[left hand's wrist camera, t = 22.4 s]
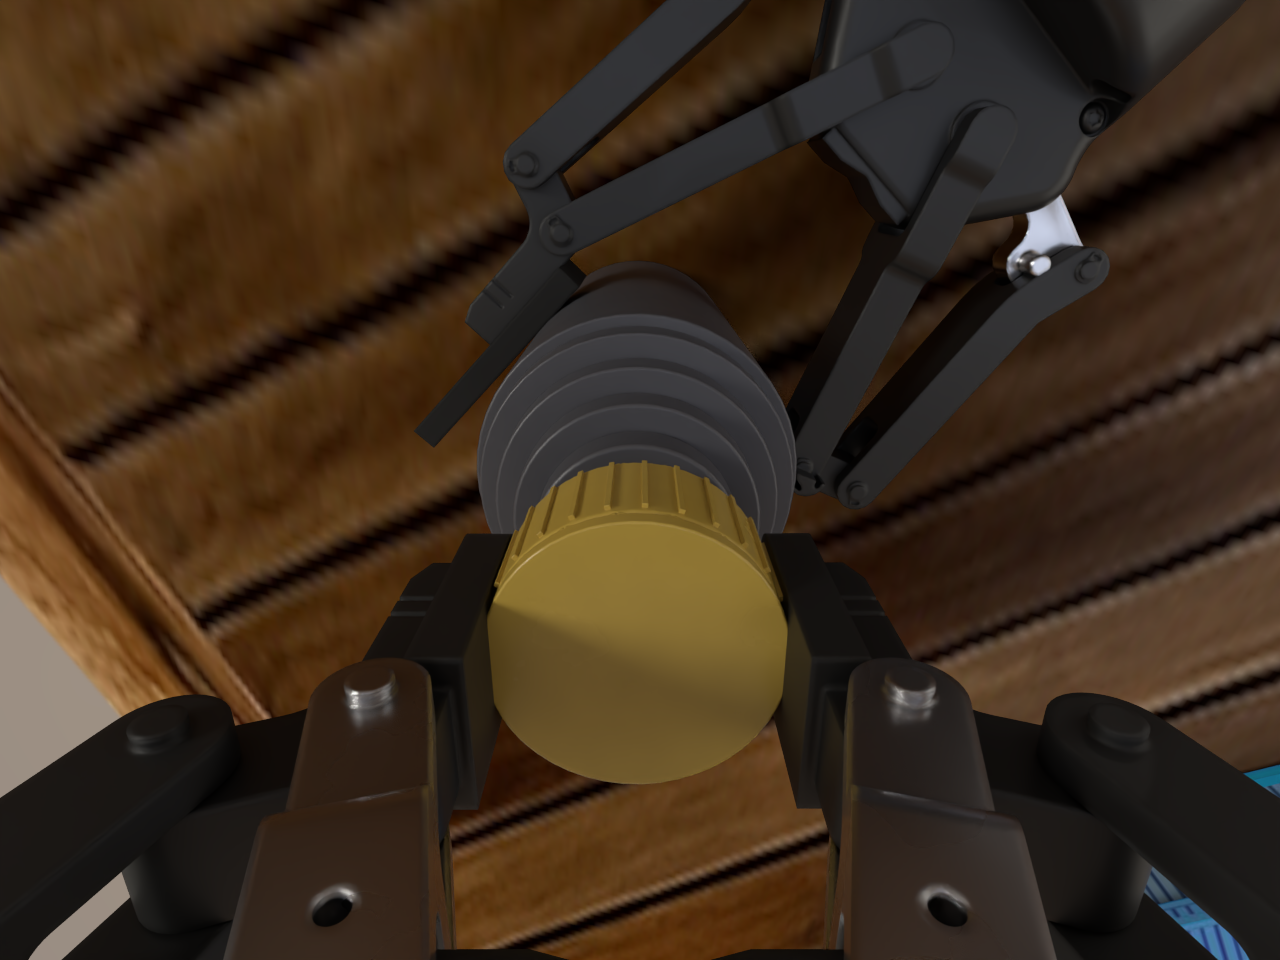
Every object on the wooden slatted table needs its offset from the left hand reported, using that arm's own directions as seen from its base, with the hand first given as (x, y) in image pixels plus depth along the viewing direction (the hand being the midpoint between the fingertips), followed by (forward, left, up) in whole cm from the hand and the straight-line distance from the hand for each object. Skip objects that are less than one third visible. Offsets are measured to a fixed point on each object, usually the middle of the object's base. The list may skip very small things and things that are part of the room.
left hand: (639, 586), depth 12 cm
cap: (0, 0, +2) cm, 2 cm away
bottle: (0, 0, -18) cm, 18 cm away
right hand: (+2, -5, -12) cm, 13 cm away
